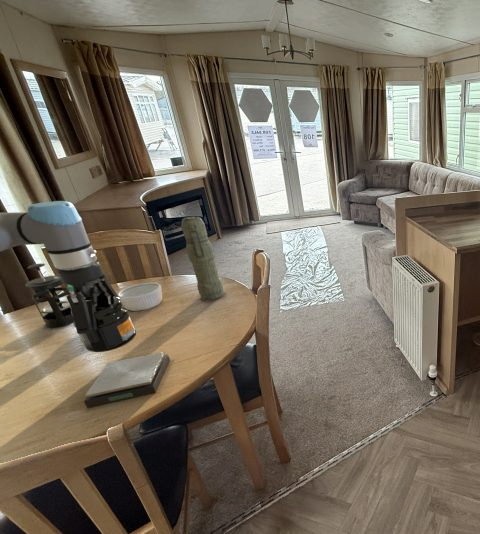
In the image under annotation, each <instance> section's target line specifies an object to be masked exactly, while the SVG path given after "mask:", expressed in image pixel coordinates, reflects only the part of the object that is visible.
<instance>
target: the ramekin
mask: <svg viewBox="0 0 480 534" xmlns="http://www.w3.org/2000/svg"><path fill="white" fill-rule="evenodd" d="M162 293H163V292H162V286H161V284H160V283H158V282H143V283H138V284H133V285H131V286H127V287H126V288H123V289H122V290H120V291H119V292H118V293H117V295H118V297H119V298H120V300H121V302H122V304H123V306H124V307H126V308H127V310H128V311H132V312H139V311H141V312H142V311H145V310H149V309H152V308H155V307H157V306H158V305H159V304H160V303H161V302H162V301H163V294H162Z"/></svg>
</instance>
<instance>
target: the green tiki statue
mask: <svg viewBox="0 0 480 534" xmlns="http://www.w3.org/2000/svg"><path fill="white" fill-rule="evenodd" d="M181 229H182V233H183V236H184V239H185V240H186V241H185V244H186V246H185V249H186V253H187V257H188V261H189V262H190V263H191V264H192V268H193V272H194V275H195V279H196V282H197V284H196V288H197V291H198V294H199V295H200V300H202V301H207V302H208V301H215V300H218V299H220V298H223V296H225V292H224V291H225V290H224V286H223V282H222V280H221V279H220V276H219V272H218V269H217V265H216V260H215V256H216V255H215V252H214V247H213V244H212V243H211V241H210V239H209V237H208V231H207V228H206V224H205V222H204V220H203V219H202V218H201V216H198V215H191V216H186V217H183V218H182V219H181Z"/></svg>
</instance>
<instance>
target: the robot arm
mask: <svg viewBox="0 0 480 534" xmlns="http://www.w3.org/2000/svg"><path fill="white" fill-rule="evenodd" d="M29 245H30V246H31V245H43V246H44V248H45V250H46V251H47V253H48V256H49V258H50V260H51V262H52V264H53V266H54V268H55V269H57V270H56V272H57V274H58V276H60V278H61V281H62V282H63V284H64V285H67V286H68V285H71V286H73V290H74V294H73V295H72V294H70V295H69V294H67V295H66V299H67V300H66V301H68V302H69V304H70V306H71V310H72V314H73V318H74V322H75V326H76V327H75V326H74V327H75V330H76V334H77V335H79V334H83V333H86V335H87V337H88V339H89V341H90V343H91V346H92V348H93V350H94V352H93V353H100V352H99V351H104V350H108V349H109V346H108V344H107V342H106V340H105V338H104V336H103V333H102V331H101V329H100V328H97V322H96V316H95V314H94V312H95V304H96V303H97V299H101V298H108V297H109V296H114V297H118V298H119V296H118V293H117V292H116V290H115V289H114V288H113V287H112V285H111V283H110V282H109V280H108V279H107V276H106V274H105V273H104V271H103V268H102V266H101V264H100V262H99V261H98V257H97V255H96V254H97V250H95V249H94V248H93V246H92V243H91V241H90V240H89V236H88V234H87V231H86V229H85V226H84V223H83V219H82V217H81V216H80V214H79V213H78V211H77V209H76V207H75V205H74V204H73V203H72V202H70V201H66V200H65V201H64V200H53V201H43V202H37V203H33V204H30V205H29V206H27V211H23V212H21V211H20V212H17V211H16V212H15V211H14V212H0V253H1V252H3V251H7V250H9V249H12V248H15V247H18V246H29ZM88 300H91V301H88Z"/></svg>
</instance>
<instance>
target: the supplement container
mask: <svg viewBox="0 0 480 534" xmlns="http://www.w3.org/2000/svg"><path fill="white" fill-rule="evenodd" d="M118 297H119V296H118ZM118 297H114V296H109V297H108V298H101V299H97V303H96V304H95V312H94V314H95V316H96V322H97V328H100V329H101V331H102V333H103V336H104V338H105V340H106V342H107V344H108V346H109V349H108V350H104V351H99V352H98V353H105V352H110V351H113V350H117V349H120V348H122V347H124V346H126V345H128V344H129V343H131V342H132V341H133V340H134V339H135V338H136V335H137V330H136V328H135V327H134V324H133V322H132V319H131V317H130V314H129V309H127V308H126V307H125V306H124V304H123V302H122V301H121V299H120V298H118ZM88 301H91V300H88ZM71 314H72V310H71ZM72 316H73V314H72ZM73 326H74V328H76V326H75V322H74V323H73ZM78 335H79V336H80V339H81V341H82V343H83V345H84V348H85V349H86V350H87V351H88V352H90V353H95V352H94V350H93V348H92V346H91V343H90V341H89V339H88V337H87V335H86V333H83V334H78Z"/></svg>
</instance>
